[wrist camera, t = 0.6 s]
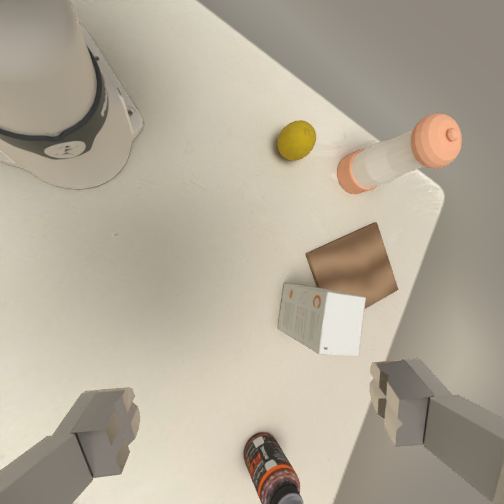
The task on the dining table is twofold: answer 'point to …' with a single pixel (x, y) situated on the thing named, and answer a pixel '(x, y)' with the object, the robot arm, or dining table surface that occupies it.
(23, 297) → the dining table surface
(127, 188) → the dining table surface
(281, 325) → the small box
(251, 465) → the supplement bottle
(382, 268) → the walnut board
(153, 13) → the dining table surface
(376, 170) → the pepper shaker
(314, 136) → the lemon
